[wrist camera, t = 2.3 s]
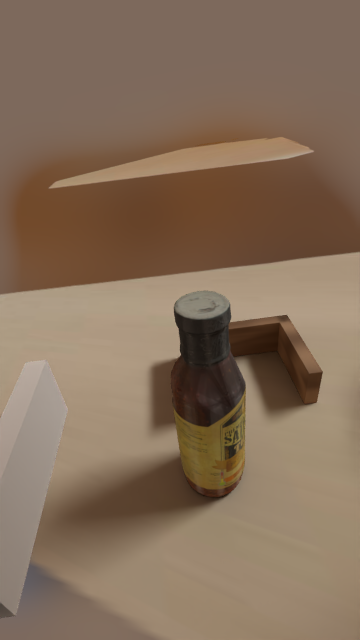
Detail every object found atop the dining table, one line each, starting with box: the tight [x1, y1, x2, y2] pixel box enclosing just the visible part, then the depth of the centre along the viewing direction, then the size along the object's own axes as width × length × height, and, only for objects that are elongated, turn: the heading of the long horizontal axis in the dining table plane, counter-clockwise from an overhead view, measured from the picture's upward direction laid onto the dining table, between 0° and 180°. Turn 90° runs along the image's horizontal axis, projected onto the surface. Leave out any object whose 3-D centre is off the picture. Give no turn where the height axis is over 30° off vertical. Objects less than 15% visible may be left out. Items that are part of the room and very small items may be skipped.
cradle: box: [229, 315, 323, 404], centre depth 43 cm, size 12×15×5 cm
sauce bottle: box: [171, 291, 246, 497], centre depth 29 cm, size 6×6×20 cm
